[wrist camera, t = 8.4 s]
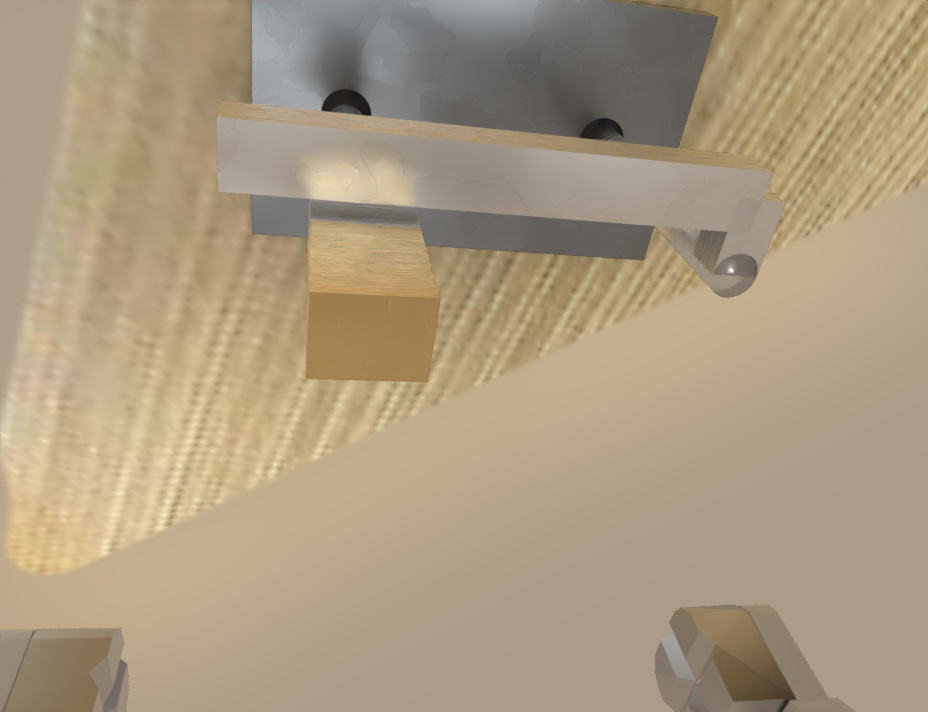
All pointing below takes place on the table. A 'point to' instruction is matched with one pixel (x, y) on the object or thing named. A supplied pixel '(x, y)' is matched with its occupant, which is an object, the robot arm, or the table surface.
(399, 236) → the leg
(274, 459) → the table surface
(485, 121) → the bolt plate
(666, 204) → the divider frame
